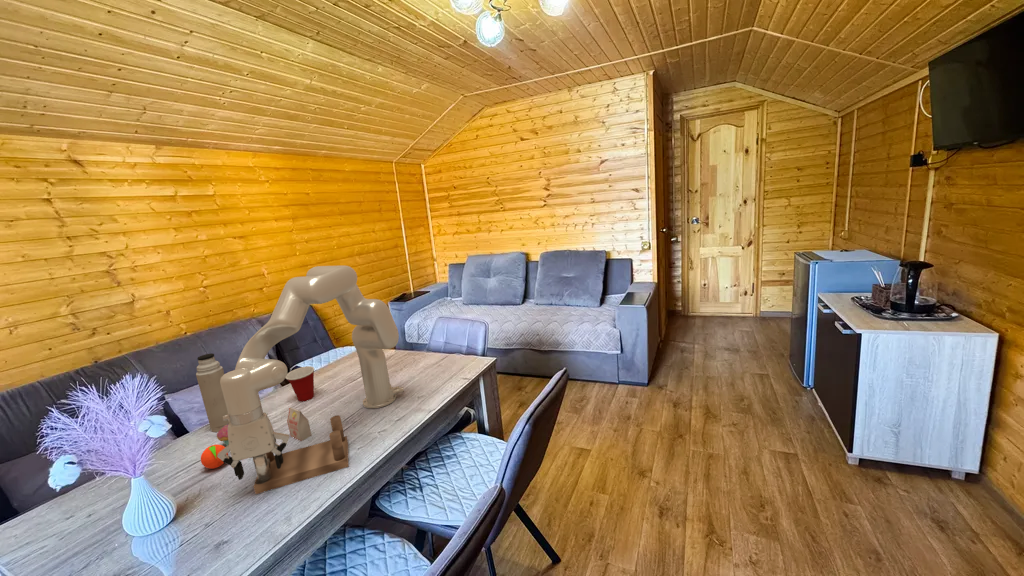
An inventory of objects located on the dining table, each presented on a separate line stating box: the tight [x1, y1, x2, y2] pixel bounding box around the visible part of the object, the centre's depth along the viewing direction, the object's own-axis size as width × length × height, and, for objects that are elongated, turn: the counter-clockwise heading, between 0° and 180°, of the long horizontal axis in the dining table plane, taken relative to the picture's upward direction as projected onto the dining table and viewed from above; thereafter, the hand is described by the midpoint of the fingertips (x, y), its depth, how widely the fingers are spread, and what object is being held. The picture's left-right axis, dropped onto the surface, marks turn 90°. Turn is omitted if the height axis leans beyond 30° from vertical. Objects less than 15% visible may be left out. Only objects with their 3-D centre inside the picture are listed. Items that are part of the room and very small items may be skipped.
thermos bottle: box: [195, 352, 230, 433], centre depth 151 cm, size 8×8×28 cm
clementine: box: [200, 444, 229, 470], centre depth 128 cm, size 8×7×7 cm
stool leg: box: [251, 454, 271, 482], centre depth 117 cm, size 9×3×9 cm, turn 26°
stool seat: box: [253, 415, 349, 495], centre depth 123 cm, size 24×14×10 cm, turn 112°
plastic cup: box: [285, 366, 315, 403], centre depth 170 cm, size 11×11×12 cm
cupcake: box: [216, 424, 229, 447], centre depth 140 cm, size 9×8×12 cm
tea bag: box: [286, 407, 312, 442], centre depth 141 cm, size 4×7×10 cm, turn 56°
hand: (260, 471), depth 115 cm, fingers open, 9 cm apart
